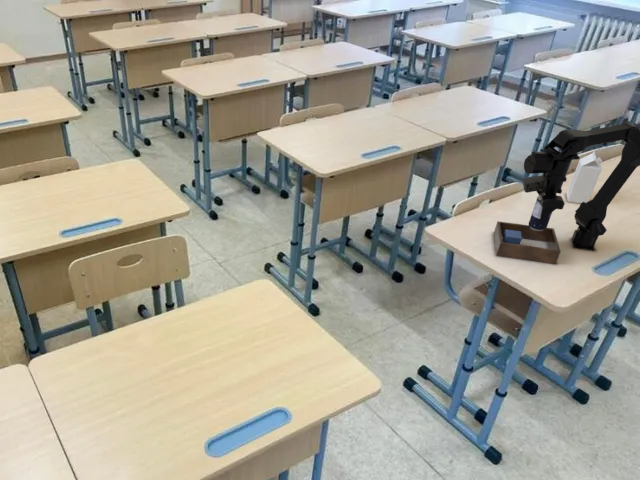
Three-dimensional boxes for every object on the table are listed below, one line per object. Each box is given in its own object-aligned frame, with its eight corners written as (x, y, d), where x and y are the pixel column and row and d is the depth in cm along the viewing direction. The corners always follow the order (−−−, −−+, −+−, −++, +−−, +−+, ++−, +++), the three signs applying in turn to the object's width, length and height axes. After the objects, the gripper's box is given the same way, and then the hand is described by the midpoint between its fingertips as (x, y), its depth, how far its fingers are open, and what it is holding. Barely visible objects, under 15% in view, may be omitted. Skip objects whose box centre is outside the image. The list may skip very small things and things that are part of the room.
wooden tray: (549, 240, 196) (554, 228, 192) (555, 264, 184) (560, 251, 181) (493, 233, 200) (497, 221, 197) (496, 255, 188) (500, 243, 185)
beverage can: (547, 232, 184) (559, 200, 177) (529, 231, 185) (540, 199, 178) (543, 224, 188) (555, 192, 181) (526, 223, 189) (536, 191, 182)
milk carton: (567, 201, 219) (585, 156, 207) (566, 194, 224) (583, 149, 212) (587, 204, 217) (606, 159, 205) (585, 197, 222) (604, 152, 210)
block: (516, 243, 194) (520, 231, 191) (517, 250, 190) (522, 238, 187) (501, 241, 195) (505, 229, 192) (502, 248, 192) (506, 236, 188)
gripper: (526, 157, 183) (512, 199, 193) (533, 180, 169) (517, 225, 179) (562, 161, 181) (546, 204, 190) (572, 185, 167) (554, 230, 176)
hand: (540, 215), depth 184 cm, fingers closed on beverage can, 6 cm apart
